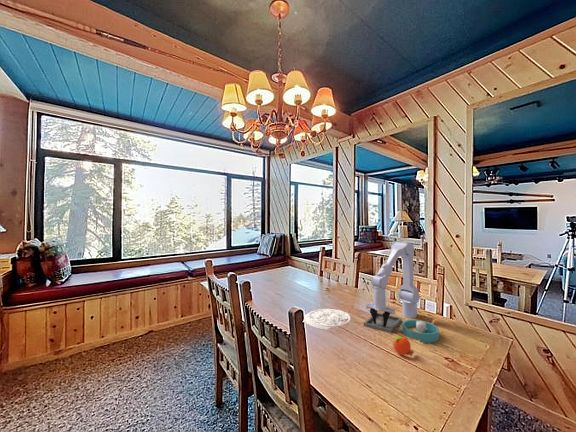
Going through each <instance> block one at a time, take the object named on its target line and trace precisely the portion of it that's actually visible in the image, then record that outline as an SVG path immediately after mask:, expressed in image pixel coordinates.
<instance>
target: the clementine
mask: <svg viewBox="0 0 576 432" xmlns="http://www.w3.org/2000/svg"><path fill="white" fill-rule="evenodd" d="M392 345H393V348H394V350H395V351H396V352H397V353H398V354H400V355H406V354H409V353H410V350H411V348H412V345H411V342H410V341H409V339H408V338H406V337H405V336H401V335H399V336H396V337H395V338H394V339H393V341H392Z"/></svg>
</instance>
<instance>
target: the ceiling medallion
mask: <svg viewBox="0 0 576 432" xmlns="http://www.w3.org/2000/svg"><path fill="white" fill-rule="evenodd" d="M304 319H305V320H304ZM303 320H304V323H306V324H307V325H308V324H309V325H308V326H310V327H312V328H315V329H318V330H322V331H324V330H325V331H329V330H330V329H331V328H333V327H334V328H335V327H342V326H346V325H348V324H349V323H350V322H351V321H352V316H351V315H350V314H349V313H348V312H346V311H343V310H339V309H335V308H333V309H332V308H319V309H314V310H312V311H309V312H308V313H306V314H305V316H304V318H303ZM345 320H347V321H345Z"/></svg>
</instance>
